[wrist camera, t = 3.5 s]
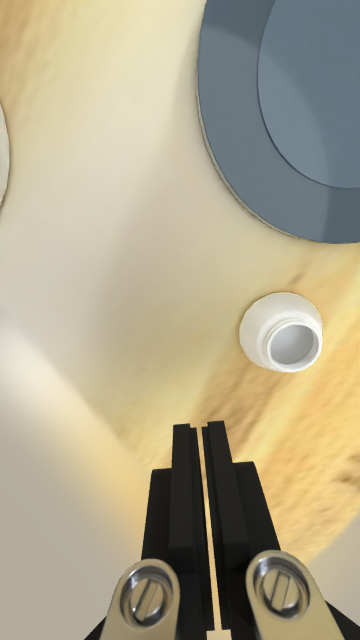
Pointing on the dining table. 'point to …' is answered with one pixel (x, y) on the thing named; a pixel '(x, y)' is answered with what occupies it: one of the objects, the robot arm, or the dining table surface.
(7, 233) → the dining table surface
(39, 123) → the dining table surface
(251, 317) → the lidless jar
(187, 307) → the dining table surface
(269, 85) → the plate
